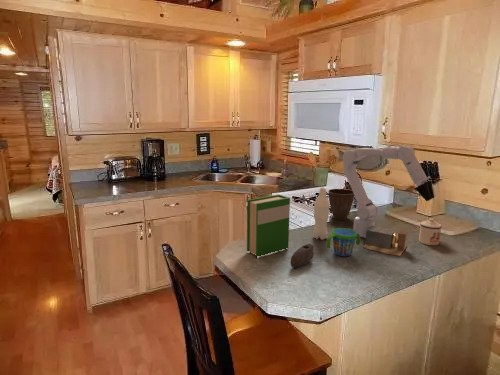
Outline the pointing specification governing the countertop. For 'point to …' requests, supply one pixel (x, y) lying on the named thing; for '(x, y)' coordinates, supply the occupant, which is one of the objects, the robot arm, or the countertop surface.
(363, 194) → the robot arm
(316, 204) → the water bottle
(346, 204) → the plant pot
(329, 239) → the snack cup
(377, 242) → the gunmetal housing
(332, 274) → the countertop surface
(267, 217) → the hardback book
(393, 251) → the mounting board
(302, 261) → the perforated stone tool
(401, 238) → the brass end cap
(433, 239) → the teacup with lid
